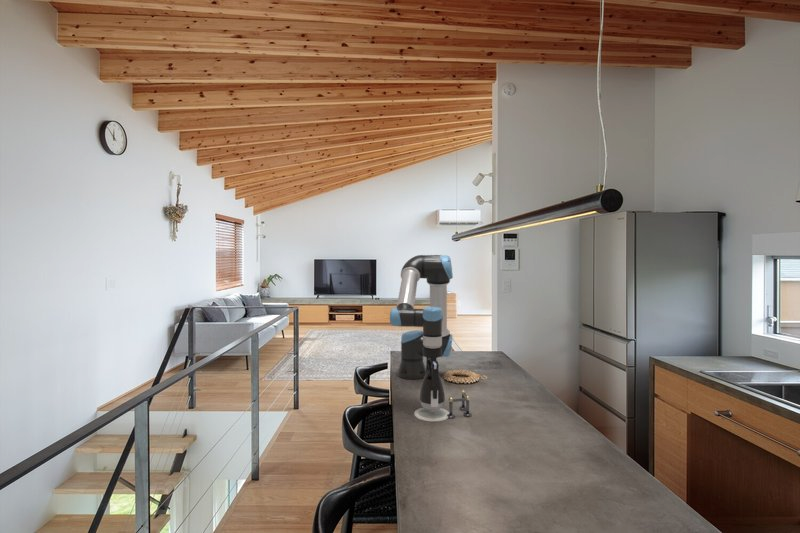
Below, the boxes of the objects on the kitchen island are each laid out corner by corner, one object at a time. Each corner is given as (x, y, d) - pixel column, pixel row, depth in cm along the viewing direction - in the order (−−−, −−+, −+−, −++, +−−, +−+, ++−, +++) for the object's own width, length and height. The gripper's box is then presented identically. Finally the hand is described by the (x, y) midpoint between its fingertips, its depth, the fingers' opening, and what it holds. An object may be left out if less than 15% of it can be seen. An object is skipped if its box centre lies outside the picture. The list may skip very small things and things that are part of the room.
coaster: (412, 408, 175) (412, 407, 175) (445, 407, 177) (445, 406, 177) (417, 422, 161) (417, 420, 161) (453, 420, 163) (453, 419, 163)
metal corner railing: (442, 408, 176) (442, 389, 176) (466, 407, 177) (466, 388, 177) (447, 418, 165) (447, 398, 165) (473, 417, 166) (473, 398, 166)
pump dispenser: (414, 410, 167) (414, 372, 166) (425, 402, 176) (425, 366, 175) (438, 415, 162) (439, 375, 162) (448, 406, 171) (448, 369, 171)
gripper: (418, 340, 179) (418, 392, 180) (427, 353, 157) (427, 412, 157) (436, 340, 180) (436, 391, 181) (447, 352, 157) (447, 411, 158)
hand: (432, 401), depth 169 cm, fingers closed on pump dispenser, 10 cm apart
